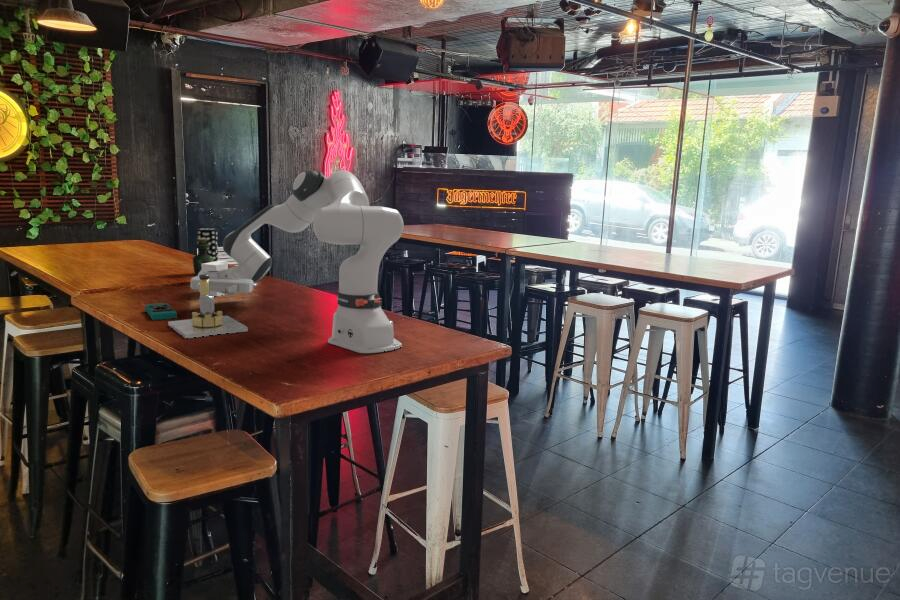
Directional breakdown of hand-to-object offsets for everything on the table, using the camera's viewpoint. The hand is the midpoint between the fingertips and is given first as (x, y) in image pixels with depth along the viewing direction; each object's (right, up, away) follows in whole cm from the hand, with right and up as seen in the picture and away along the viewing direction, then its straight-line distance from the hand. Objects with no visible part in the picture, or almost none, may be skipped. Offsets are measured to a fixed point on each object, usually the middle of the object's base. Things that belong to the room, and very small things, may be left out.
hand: (212, 288), depth 209 cm
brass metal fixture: (+2, -10, -11) cm, 15 cm away
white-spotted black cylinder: (-32, +8, +81) cm, 87 cm away
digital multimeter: (-17, -9, +1) cm, 20 cm away
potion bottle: (-26, +4, +61) cm, 67 cm away
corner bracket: (-14, -1, +39) cm, 41 cm away
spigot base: (+4, -12, -14) cm, 19 cm away
